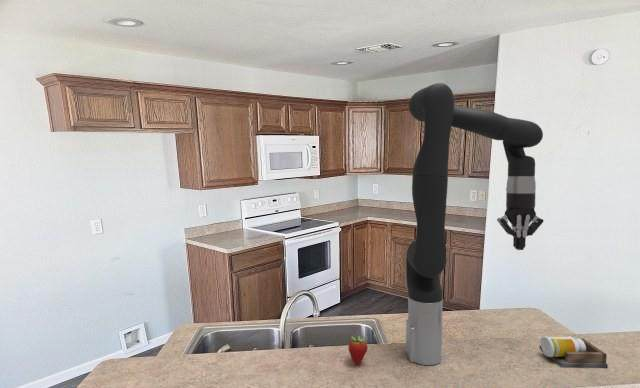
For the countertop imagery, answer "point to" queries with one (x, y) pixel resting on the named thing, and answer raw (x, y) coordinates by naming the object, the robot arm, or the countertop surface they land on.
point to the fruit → (357, 349)
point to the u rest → (583, 358)
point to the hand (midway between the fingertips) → (519, 249)
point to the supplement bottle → (561, 345)
